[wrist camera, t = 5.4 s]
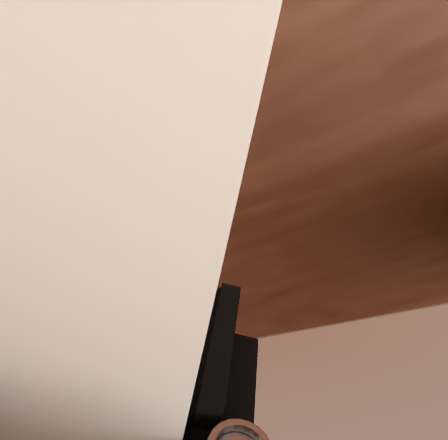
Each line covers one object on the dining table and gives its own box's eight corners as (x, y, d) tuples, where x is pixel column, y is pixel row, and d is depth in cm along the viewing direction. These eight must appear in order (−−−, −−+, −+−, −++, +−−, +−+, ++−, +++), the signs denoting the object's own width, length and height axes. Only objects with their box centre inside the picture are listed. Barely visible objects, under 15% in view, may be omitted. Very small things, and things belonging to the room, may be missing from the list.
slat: (120, -186, 8) (-175, -581, 3) (313, -145, 8) (390, -471, 3) (84, 465, 18) (4, 651, 13) (171, 486, 18) (127, 682, 13)
